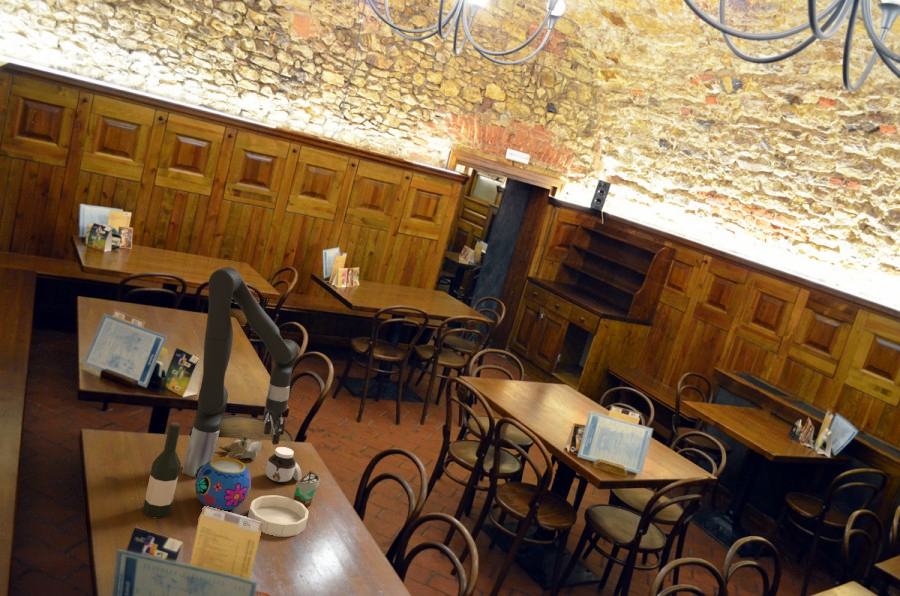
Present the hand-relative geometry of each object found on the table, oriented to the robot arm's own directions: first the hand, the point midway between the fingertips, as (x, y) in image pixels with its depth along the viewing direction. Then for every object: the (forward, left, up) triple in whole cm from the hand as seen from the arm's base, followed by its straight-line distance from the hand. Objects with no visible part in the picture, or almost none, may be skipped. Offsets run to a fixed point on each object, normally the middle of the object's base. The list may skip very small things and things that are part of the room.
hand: (270, 439), depth 260 cm
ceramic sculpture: (-11, +22, -19) cm, 31 cm away
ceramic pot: (-11, -18, -19) cm, 29 cm away
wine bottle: (-28, -29, -19) cm, 45 cm away
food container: (+17, -5, -19) cm, 26 cm away
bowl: (+9, -21, -19) cm, 30 cm away
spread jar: (+7, +11, -19) cm, 23 cm away
